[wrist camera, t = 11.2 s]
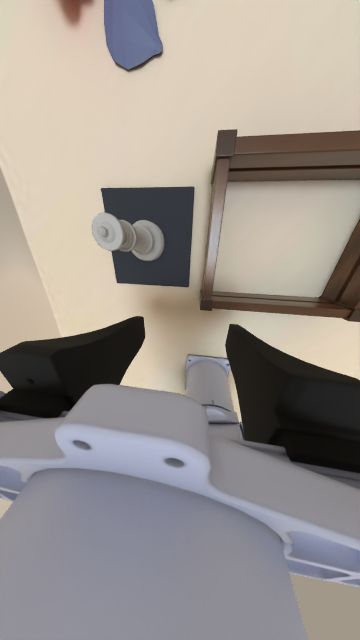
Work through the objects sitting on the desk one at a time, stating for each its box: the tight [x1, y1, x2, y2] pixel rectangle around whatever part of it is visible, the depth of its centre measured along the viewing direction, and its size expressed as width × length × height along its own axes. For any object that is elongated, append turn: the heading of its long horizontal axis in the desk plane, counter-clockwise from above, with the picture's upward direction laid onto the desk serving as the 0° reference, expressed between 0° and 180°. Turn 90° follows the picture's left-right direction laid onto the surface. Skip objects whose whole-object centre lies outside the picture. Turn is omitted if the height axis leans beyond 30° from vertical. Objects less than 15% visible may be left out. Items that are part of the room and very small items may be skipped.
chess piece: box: [92, 213, 165, 261], centre depth 13 cm, size 4×4×10 cm
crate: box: [200, 129, 360, 322], centre depth 15 cm, size 14×17×5 cm
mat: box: [101, 187, 194, 287], centre depth 18 cm, size 11×11×1 cm
